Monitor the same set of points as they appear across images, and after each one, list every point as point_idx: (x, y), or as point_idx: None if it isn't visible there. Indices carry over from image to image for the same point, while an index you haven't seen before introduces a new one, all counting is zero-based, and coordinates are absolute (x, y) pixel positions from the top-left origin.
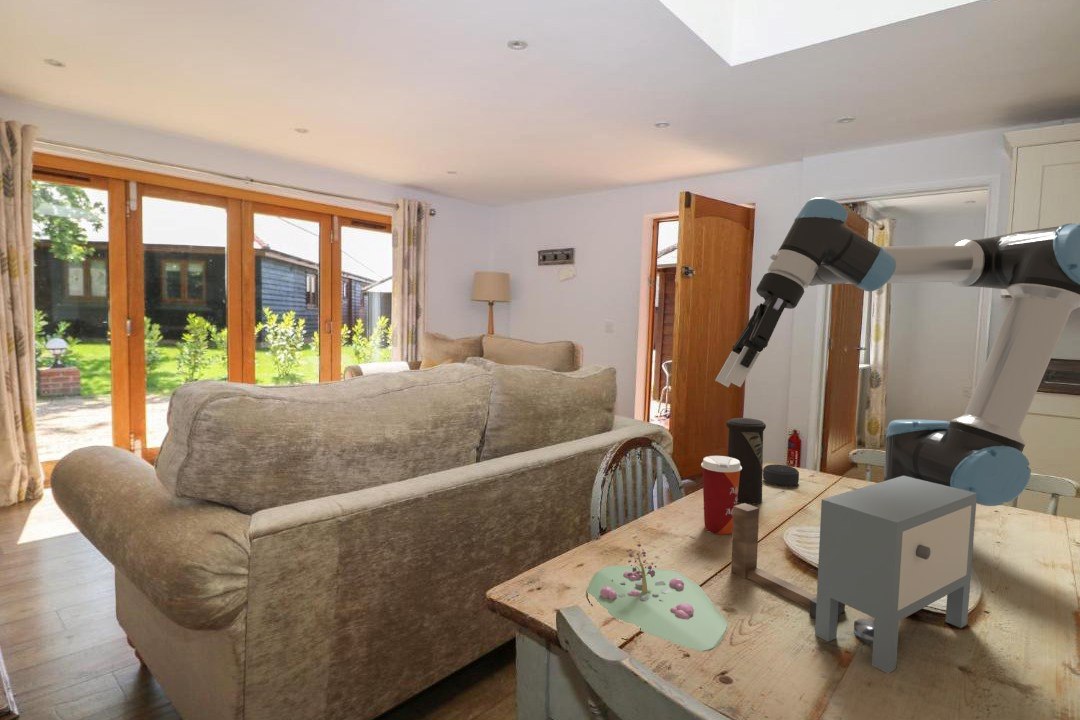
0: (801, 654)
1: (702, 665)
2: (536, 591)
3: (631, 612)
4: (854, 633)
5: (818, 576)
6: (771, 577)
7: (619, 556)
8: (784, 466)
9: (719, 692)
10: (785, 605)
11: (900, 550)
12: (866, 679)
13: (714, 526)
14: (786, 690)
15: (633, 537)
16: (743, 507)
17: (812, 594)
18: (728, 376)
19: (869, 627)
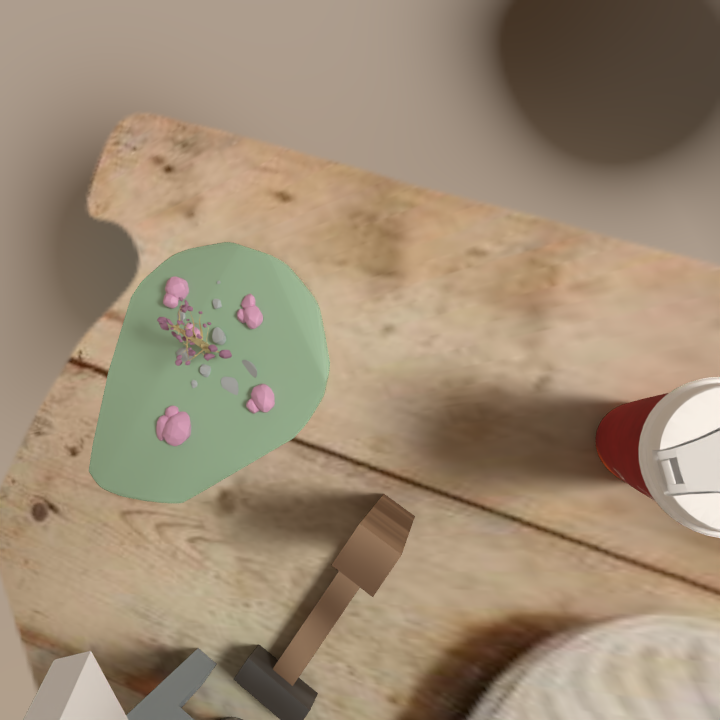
0: (135, 621)
1: (58, 477)
2: (157, 170)
3: (144, 345)
4: (227, 717)
5: (139, 704)
6: (347, 583)
7: (356, 254)
8: None
9: (12, 506)
10: (281, 603)
11: None
12: None
13: (599, 434)
14: (45, 594)
15: (473, 250)
16: (359, 552)
17: (304, 662)
18: (39, 693)
19: None
